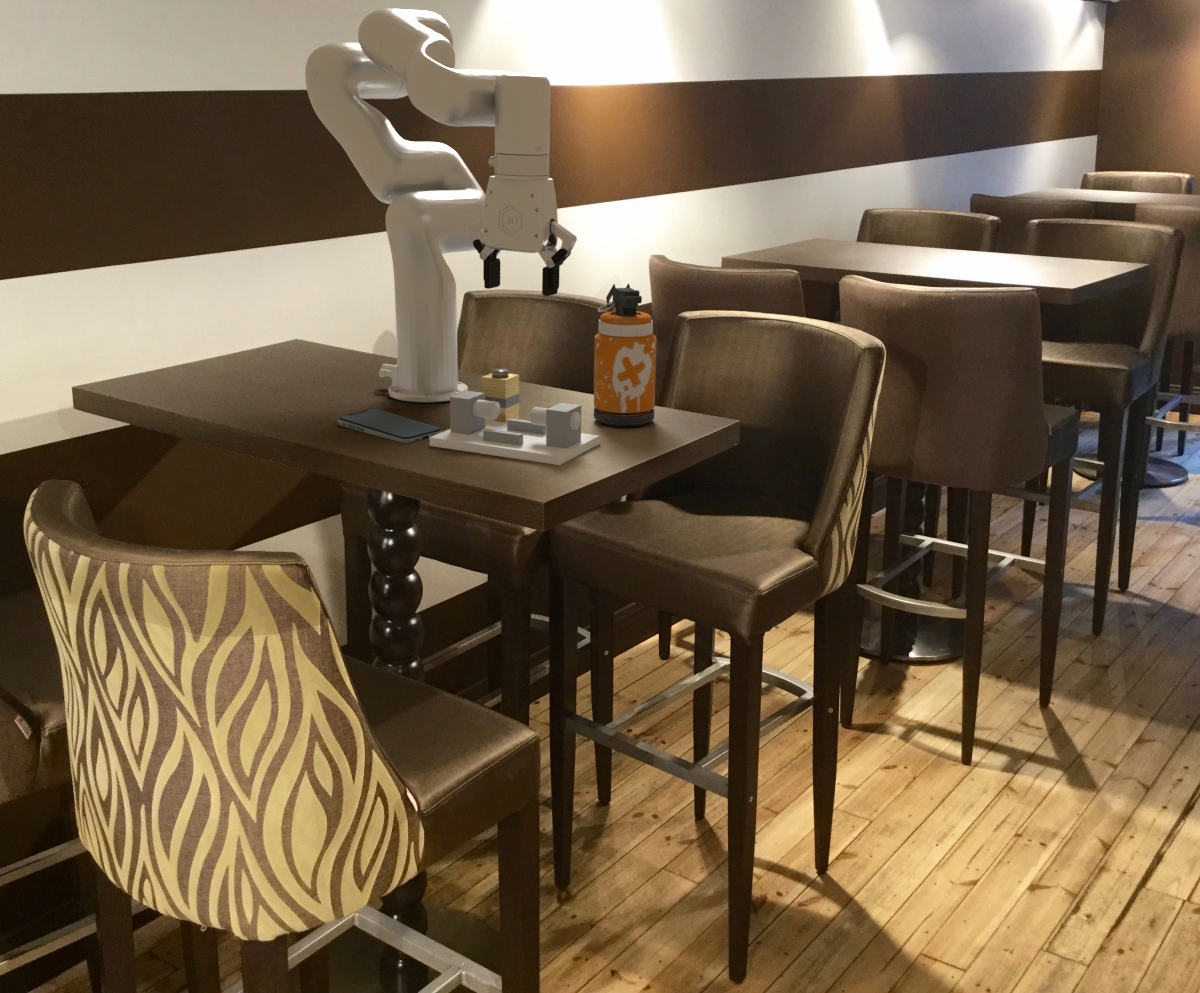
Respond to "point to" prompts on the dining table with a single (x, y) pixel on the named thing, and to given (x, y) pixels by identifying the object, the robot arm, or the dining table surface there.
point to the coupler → (502, 393)
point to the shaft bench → (515, 431)
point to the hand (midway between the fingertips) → (520, 291)
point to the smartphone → (388, 425)
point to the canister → (624, 362)
